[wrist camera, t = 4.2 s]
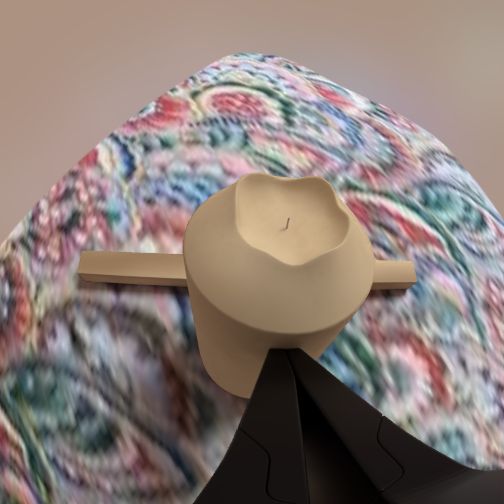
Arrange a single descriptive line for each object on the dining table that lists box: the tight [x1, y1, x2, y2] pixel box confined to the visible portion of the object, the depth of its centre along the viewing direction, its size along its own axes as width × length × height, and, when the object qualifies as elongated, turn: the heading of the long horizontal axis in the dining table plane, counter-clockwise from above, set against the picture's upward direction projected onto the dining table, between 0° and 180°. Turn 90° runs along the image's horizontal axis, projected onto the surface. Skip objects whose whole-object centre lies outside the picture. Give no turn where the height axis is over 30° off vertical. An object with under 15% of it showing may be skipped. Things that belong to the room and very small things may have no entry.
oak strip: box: [77, 251, 417, 290], centre depth 17 cm, size 1×20×1 cm, turn 90°
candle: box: [183, 172, 375, 399], centre depth 11 cm, size 6×6×10 cm
